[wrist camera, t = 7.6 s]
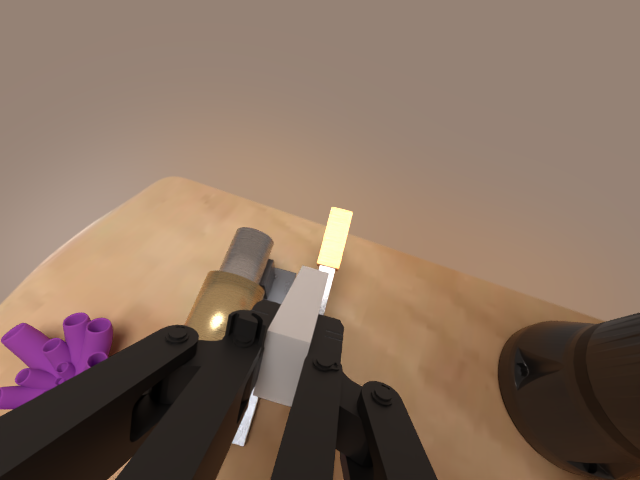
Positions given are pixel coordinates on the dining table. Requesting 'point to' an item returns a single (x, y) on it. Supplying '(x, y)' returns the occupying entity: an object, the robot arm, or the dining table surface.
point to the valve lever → (333, 247)
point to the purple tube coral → (54, 356)
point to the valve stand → (239, 295)
